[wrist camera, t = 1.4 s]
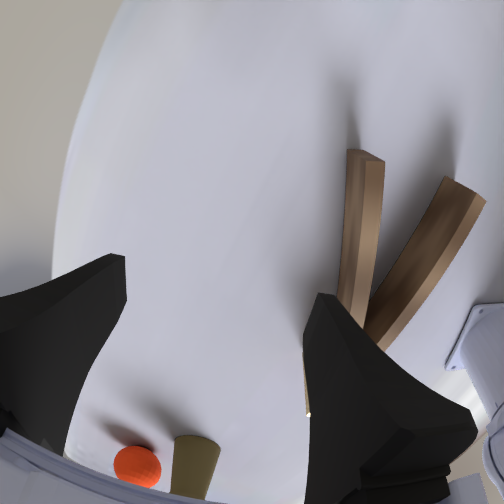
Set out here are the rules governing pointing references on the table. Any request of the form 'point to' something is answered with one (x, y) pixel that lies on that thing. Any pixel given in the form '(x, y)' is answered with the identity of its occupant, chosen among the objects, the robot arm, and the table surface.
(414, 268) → the bar
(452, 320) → the table surface
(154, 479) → the clementine
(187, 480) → the cork
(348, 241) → the tong arm
